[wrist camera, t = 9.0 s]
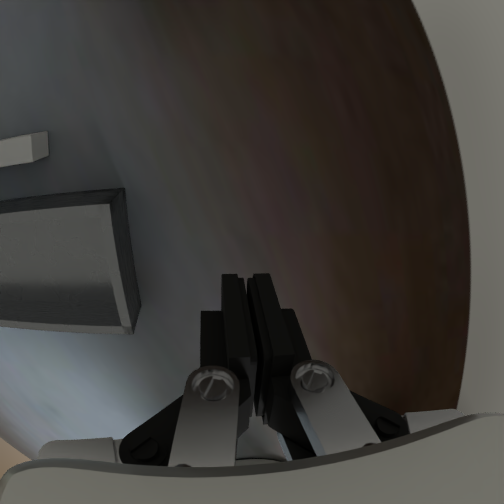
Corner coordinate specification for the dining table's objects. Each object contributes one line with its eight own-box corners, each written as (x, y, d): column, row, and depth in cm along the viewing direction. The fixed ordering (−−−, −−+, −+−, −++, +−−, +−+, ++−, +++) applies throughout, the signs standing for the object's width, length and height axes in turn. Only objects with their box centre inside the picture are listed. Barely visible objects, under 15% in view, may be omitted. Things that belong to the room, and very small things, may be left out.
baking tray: (141, 305, 20) (133, 334, 18) (-39, 299, 18) (-56, 318, 15) (124, 187, 17) (109, 203, 14) (-66, 212, 15) (-88, 227, 12)
